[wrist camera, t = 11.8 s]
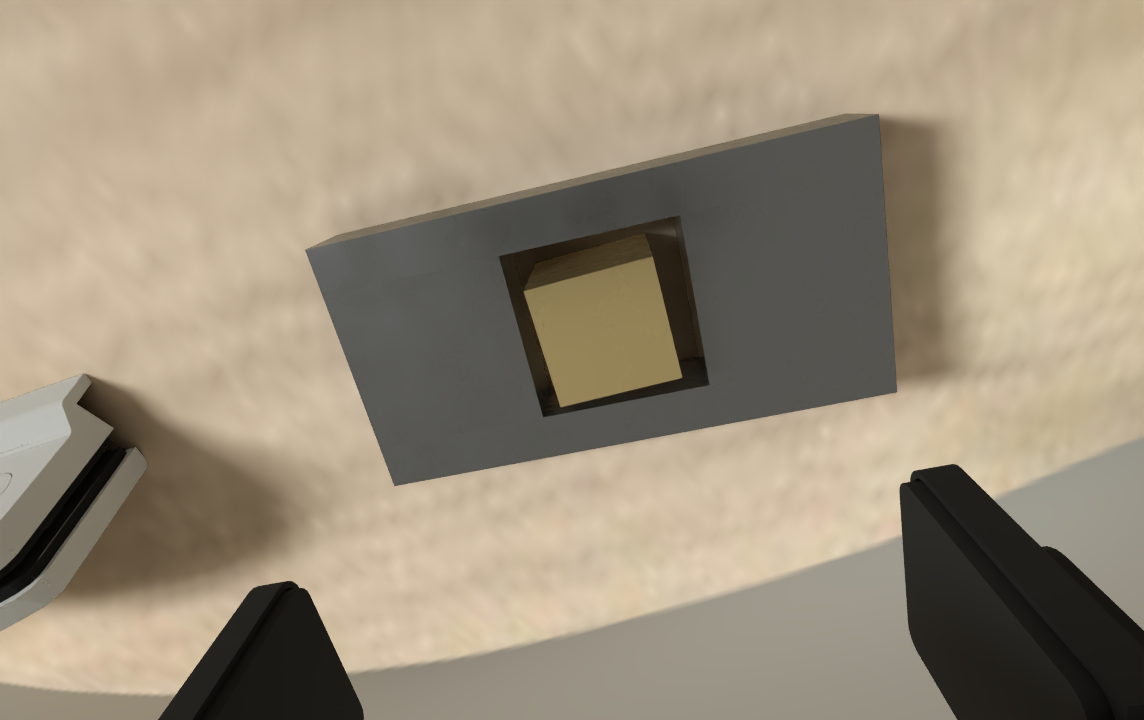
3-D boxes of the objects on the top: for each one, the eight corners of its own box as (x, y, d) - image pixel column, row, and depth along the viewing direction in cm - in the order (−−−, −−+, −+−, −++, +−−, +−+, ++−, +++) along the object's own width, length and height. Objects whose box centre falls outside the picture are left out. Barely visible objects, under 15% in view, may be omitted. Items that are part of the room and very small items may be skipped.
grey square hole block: (336, 235, 26) (305, 249, 23) (846, 113, 24) (878, 114, 21) (414, 450, 30) (394, 486, 27) (866, 363, 27) (897, 392, 24)
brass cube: (535, 262, 26) (523, 291, 22) (644, 232, 26) (652, 256, 22) (566, 362, 28) (560, 407, 24) (669, 336, 27) (682, 377, 23)
